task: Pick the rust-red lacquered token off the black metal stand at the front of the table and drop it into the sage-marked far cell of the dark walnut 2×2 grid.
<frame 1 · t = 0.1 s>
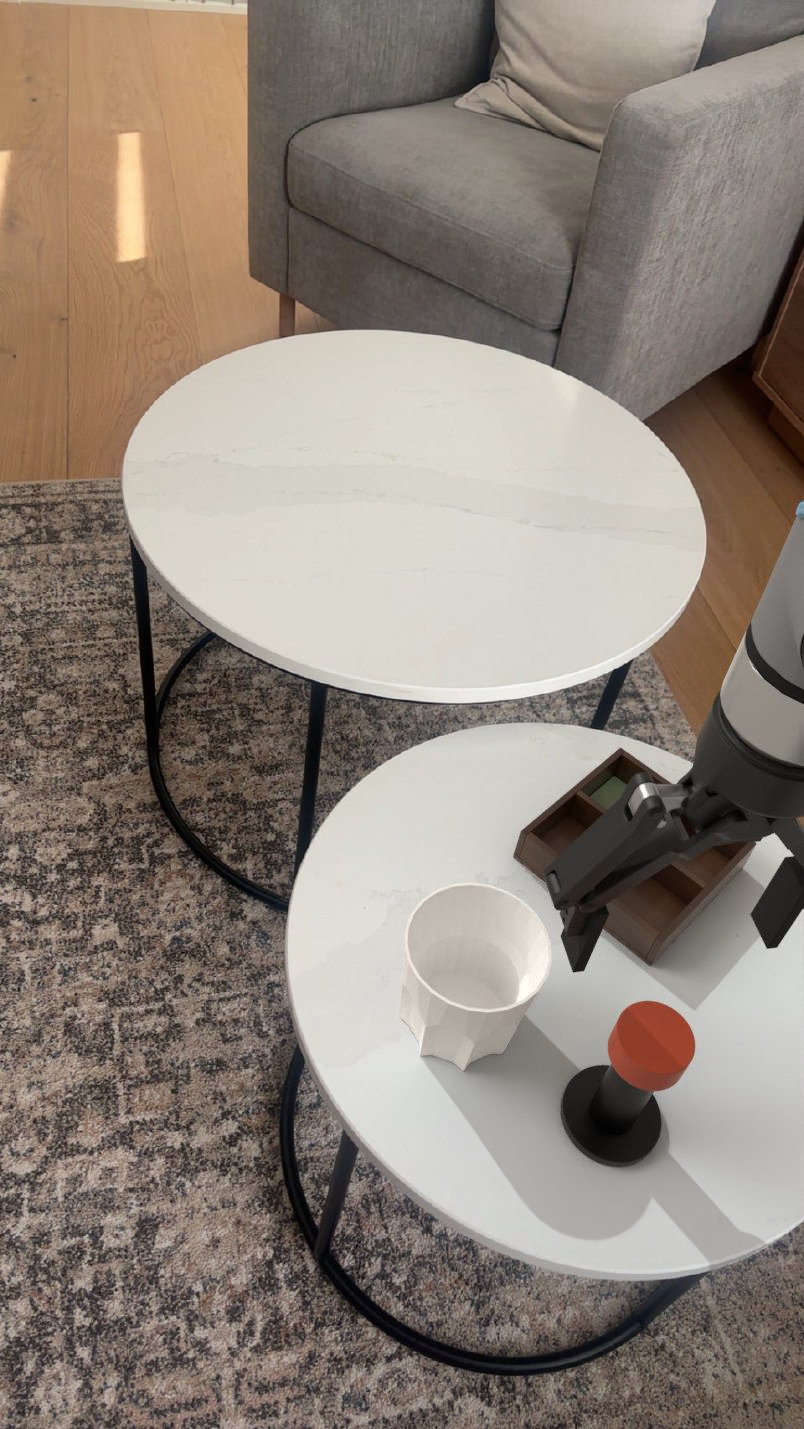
hand: (669, 942, 71), 13 cm above the table, tool pointing down, fingers open, 13 cm apart
stand: (609, 1116, 77), on the table
token: (645, 1054, 70), point 9 cm above the table, touching stand
grid: (629, 862, 92), on the table
cup: (456, 1017, 81), on the table
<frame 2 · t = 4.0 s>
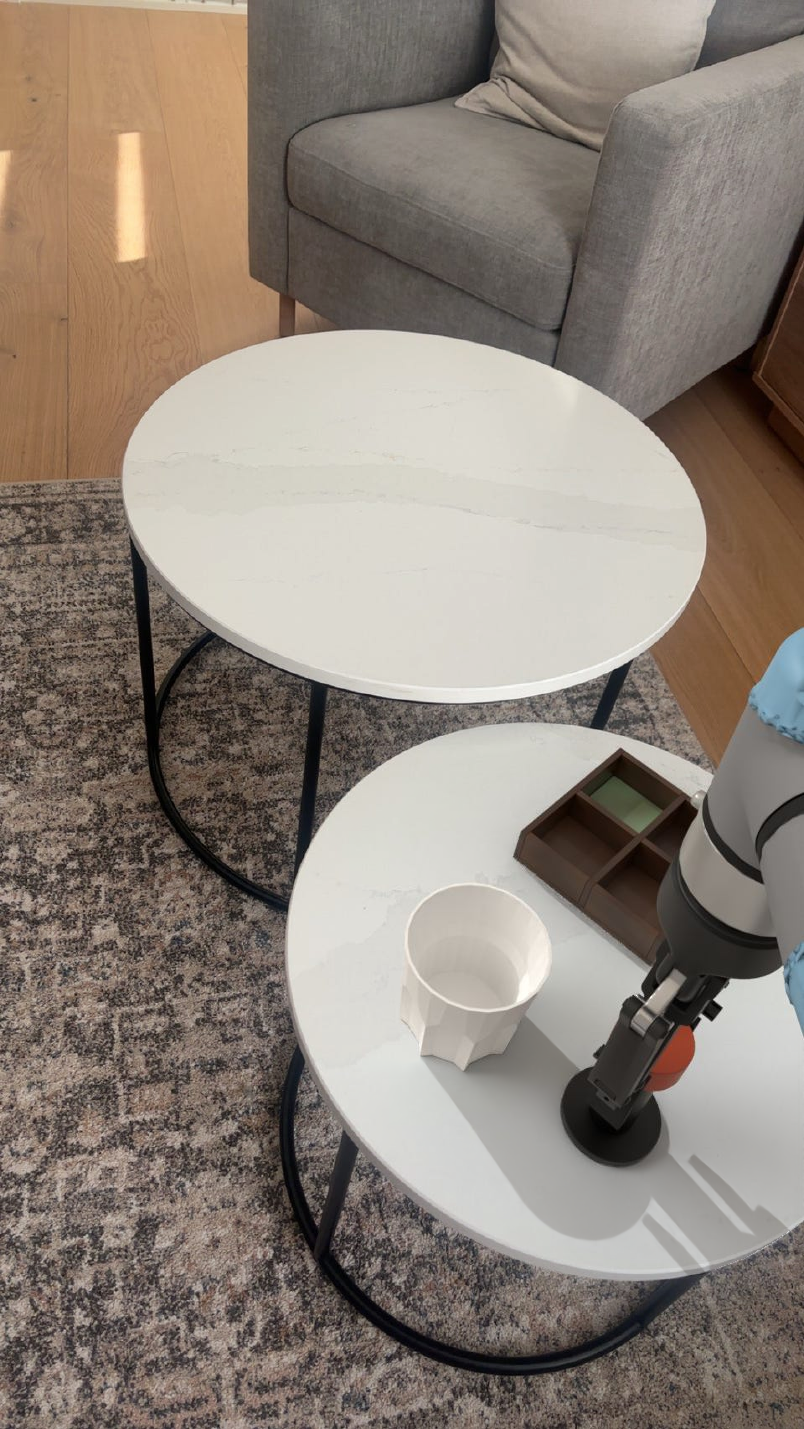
hand: (629, 1082, 73), 5 cm above the table, tool pointing down, fingers closed on token, 5 cm apart
token: (645, 1054, 70), point 9 cm above the table, touching gripper, stand
everything else where it was.
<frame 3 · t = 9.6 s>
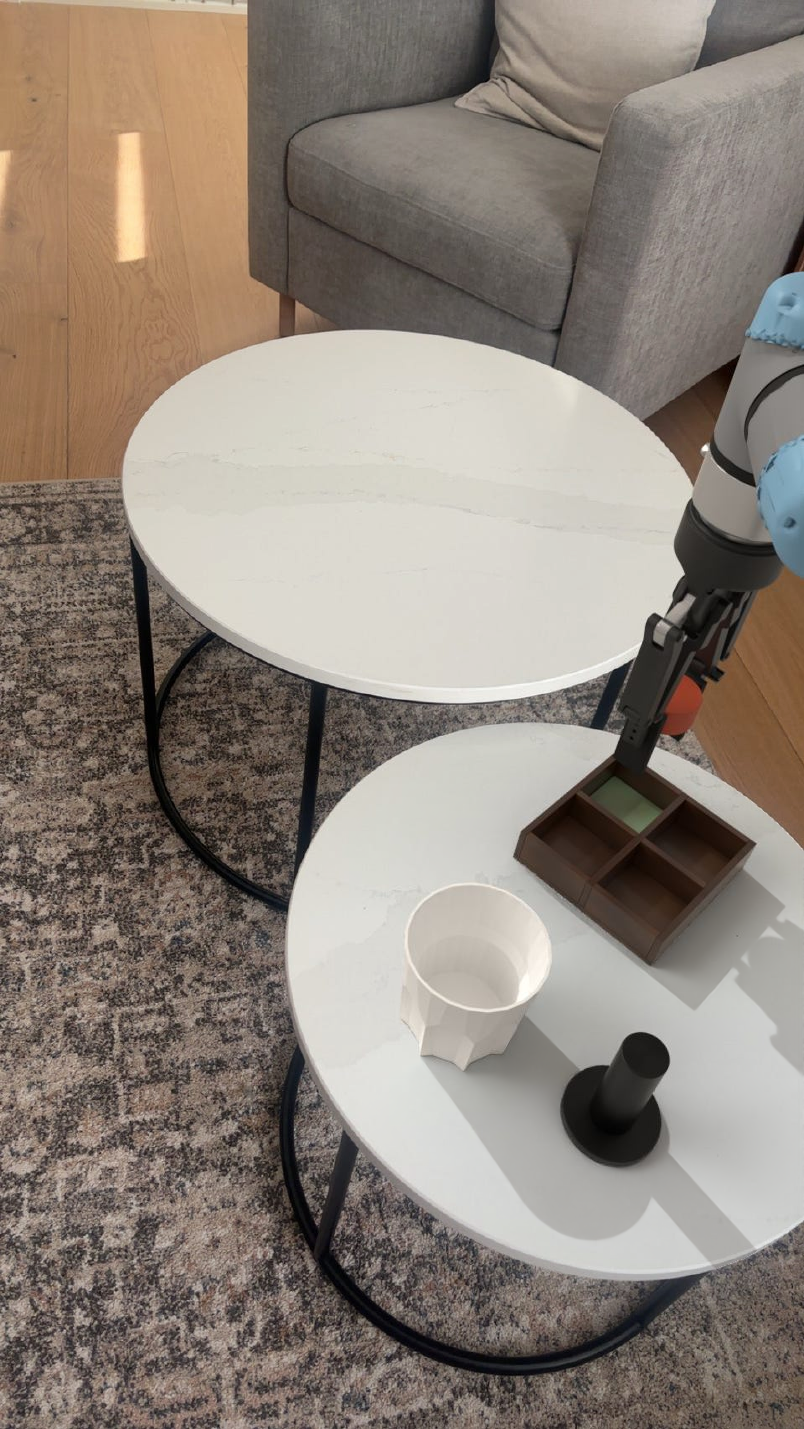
hand: (648, 746, 89), 9 cm above the table, tool pointing down, fingers closed on token, 5 cm apart
token: (662, 712, 86), point 13 cm above the table, touching gripper
everything else where it was.
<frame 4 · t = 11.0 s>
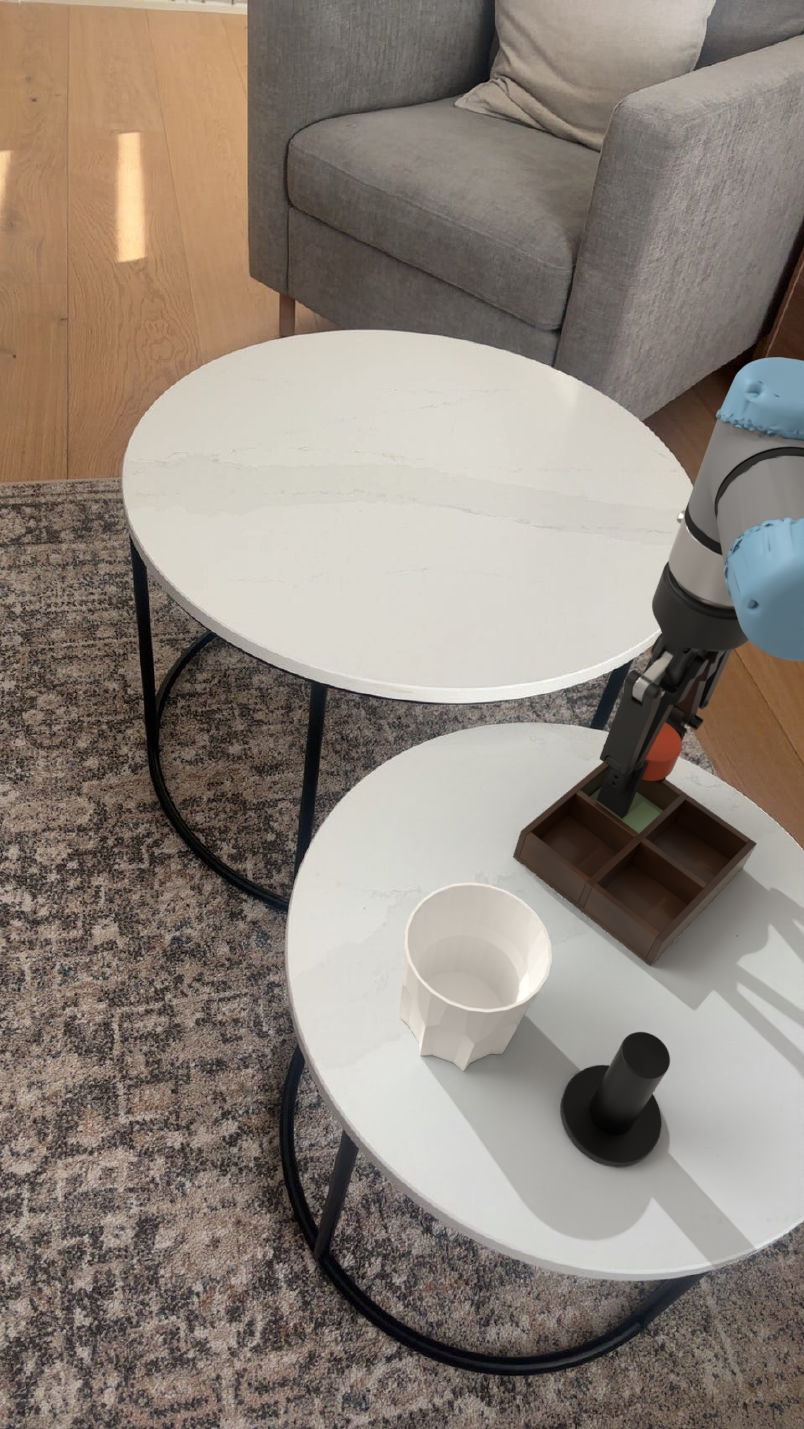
hand: (631, 789, 93), 4 cm above the table, tool pointing down, fingers closed on token, 5 cm apart
token: (643, 757, 90), point 8 cm above the table, touching gripper
everything else where it was.
when the fingers open (5 cm above the table, at t = 15.5 s): token drops 8 cm, resting on grid.
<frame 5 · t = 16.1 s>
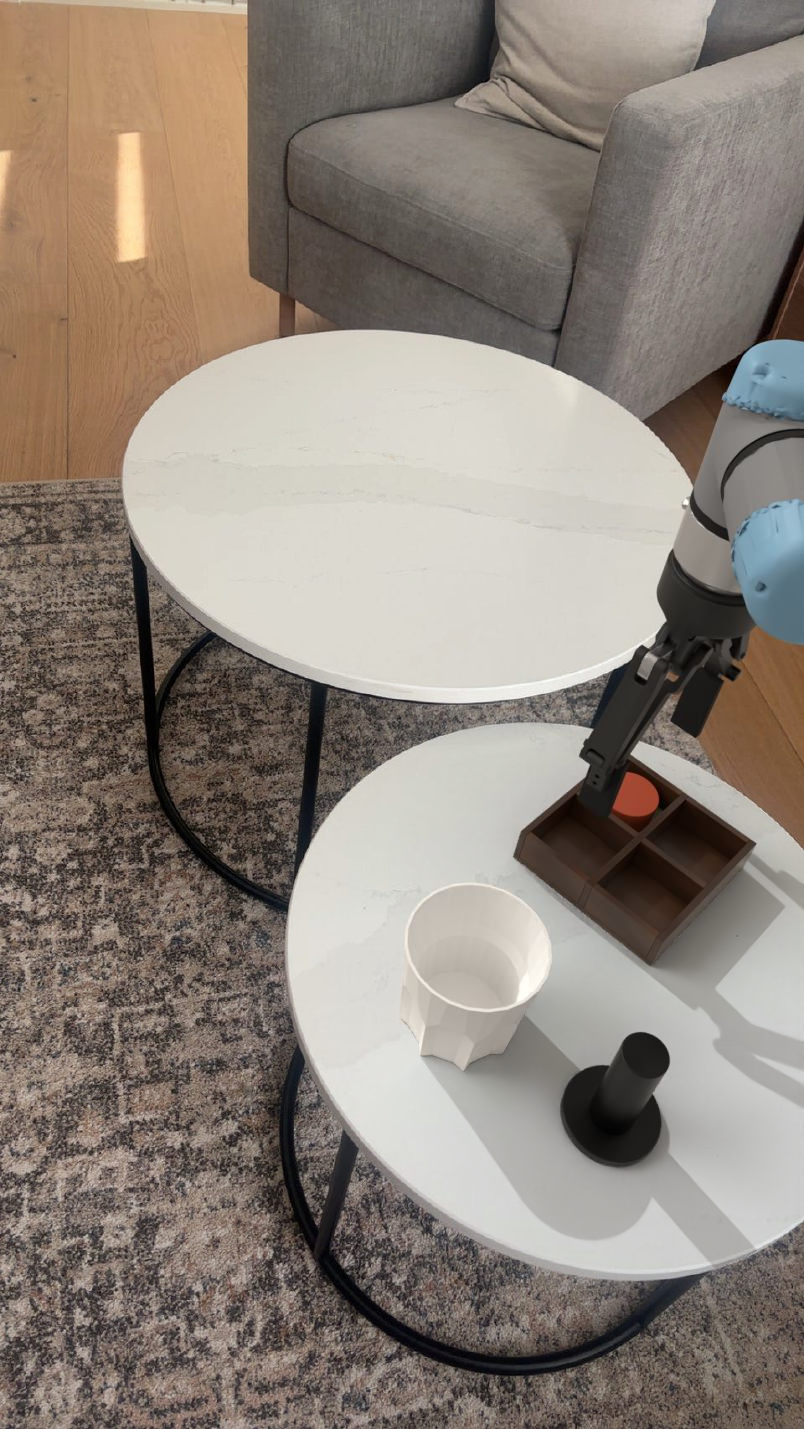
hand: (640, 766, 91), 7 cm above the table, tool pointing down, fingers open, 13 cm apart
token: (623, 811, 95), point 1 cm above the table, touching grid
everything else where it was.
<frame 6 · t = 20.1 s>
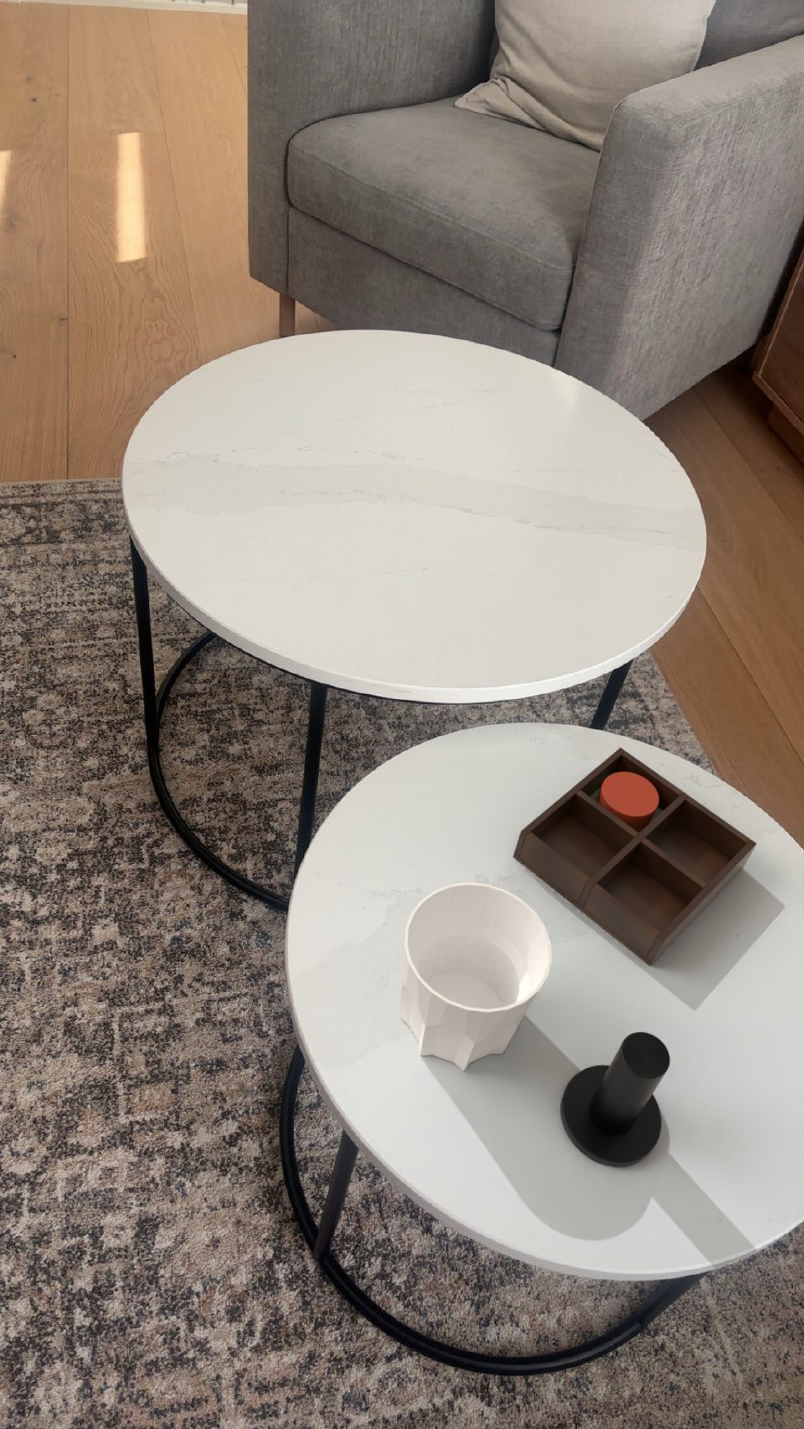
nothing on the table moved.
at the end: token 0.3 cm from the target spot in the grid, point 0.7 cm above the grid's base; the gripper is holding nothing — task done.
